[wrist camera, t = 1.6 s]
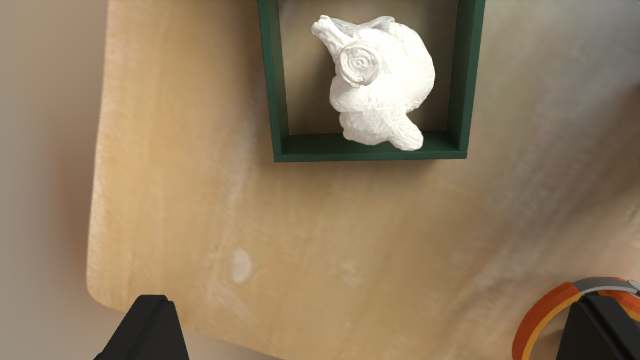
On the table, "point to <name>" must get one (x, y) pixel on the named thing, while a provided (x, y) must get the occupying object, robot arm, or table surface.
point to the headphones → (627, 293)
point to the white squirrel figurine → (377, 79)
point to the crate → (342, 149)
